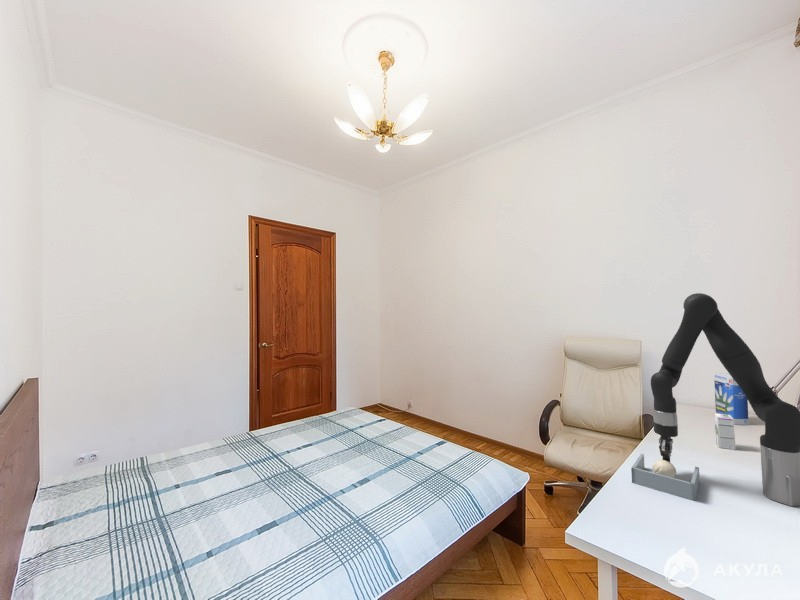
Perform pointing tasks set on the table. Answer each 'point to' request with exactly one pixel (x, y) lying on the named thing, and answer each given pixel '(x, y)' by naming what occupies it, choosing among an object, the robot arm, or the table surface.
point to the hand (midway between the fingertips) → (666, 465)
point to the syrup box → (725, 431)
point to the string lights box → (730, 399)
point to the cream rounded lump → (664, 468)
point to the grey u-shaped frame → (665, 481)
